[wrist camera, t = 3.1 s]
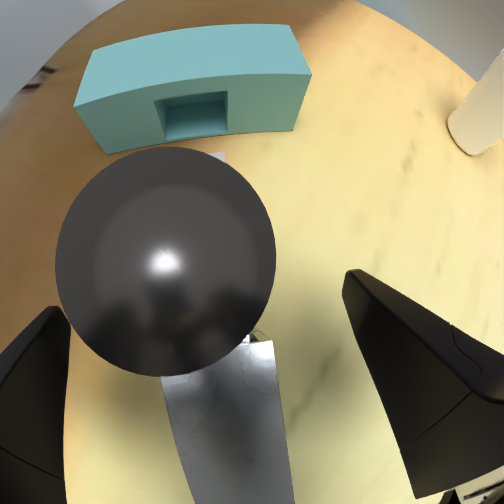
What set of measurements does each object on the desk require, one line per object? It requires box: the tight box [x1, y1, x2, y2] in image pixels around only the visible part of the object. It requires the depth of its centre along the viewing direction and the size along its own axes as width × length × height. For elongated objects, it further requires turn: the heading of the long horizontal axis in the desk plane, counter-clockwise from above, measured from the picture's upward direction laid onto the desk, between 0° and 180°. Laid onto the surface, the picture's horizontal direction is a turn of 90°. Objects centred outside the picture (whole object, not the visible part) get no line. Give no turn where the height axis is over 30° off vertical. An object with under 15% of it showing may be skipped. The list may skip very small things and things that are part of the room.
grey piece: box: [55, 147, 276, 377], centre depth 9 cm, size 22×3×12 cm, turn 8°
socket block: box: [74, 24, 312, 155], centre depth 16 cm, size 6×14×6 cm, turn 98°
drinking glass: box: [448, 48, 504, 156], centre depth 14 cm, size 7×7×15 cm
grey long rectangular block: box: [160, 331, 295, 504], centre depth 12 cm, size 14×5×5 cm, turn 8°
